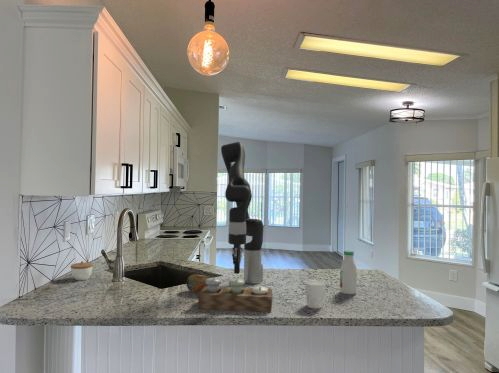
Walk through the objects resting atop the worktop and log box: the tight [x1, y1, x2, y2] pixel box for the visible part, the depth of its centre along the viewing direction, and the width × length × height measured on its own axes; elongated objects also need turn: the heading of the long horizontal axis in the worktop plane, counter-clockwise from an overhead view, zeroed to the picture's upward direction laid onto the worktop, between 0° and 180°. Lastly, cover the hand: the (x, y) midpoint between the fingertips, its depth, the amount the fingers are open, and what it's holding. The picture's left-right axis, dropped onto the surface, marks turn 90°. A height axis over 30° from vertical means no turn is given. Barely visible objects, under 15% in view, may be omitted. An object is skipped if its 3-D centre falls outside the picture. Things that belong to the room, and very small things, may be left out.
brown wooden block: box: [197, 286, 273, 313], centre depth 155 cm, size 30×12×6 cm, turn 85°
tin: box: [186, 273, 213, 294], centre depth 173 cm, size 15×3×8 cm, turn 62°
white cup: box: [305, 279, 326, 310], centre depth 156 cm, size 8×8×10 cm
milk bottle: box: [339, 249, 358, 296], centre depth 176 cm, size 8×8×20 cm
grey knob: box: [206, 277, 222, 293], centre depth 156 cm, size 7×7×5 cm
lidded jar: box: [70, 260, 94, 281], centre depth 196 cm, size 11×11×9 cm
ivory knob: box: [251, 286, 269, 295], centre depth 154 cm, size 7×7×5 cm
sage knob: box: [228, 278, 245, 294], centre depth 155 cm, size 7×7×5 cm
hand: (236, 273), depth 155 cm, fingers closed
